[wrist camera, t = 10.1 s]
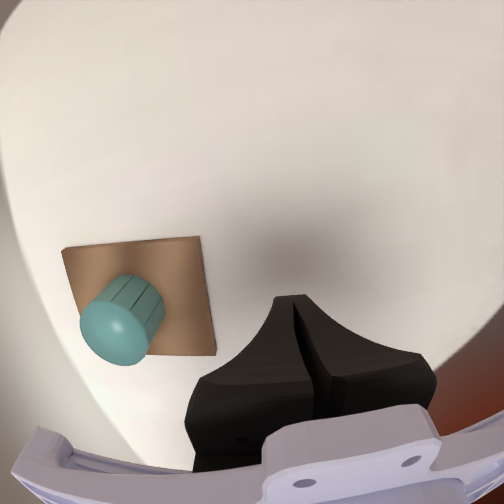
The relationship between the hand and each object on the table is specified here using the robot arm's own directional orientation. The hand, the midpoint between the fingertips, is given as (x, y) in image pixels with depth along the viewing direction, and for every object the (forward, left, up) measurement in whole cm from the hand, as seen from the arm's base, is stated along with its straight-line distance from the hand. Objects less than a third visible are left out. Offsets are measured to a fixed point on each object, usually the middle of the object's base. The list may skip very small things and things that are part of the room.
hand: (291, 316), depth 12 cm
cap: (+12, +4, -9) cm, 15 cm away
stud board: (+12, +4, -9) cm, 15 cm away
